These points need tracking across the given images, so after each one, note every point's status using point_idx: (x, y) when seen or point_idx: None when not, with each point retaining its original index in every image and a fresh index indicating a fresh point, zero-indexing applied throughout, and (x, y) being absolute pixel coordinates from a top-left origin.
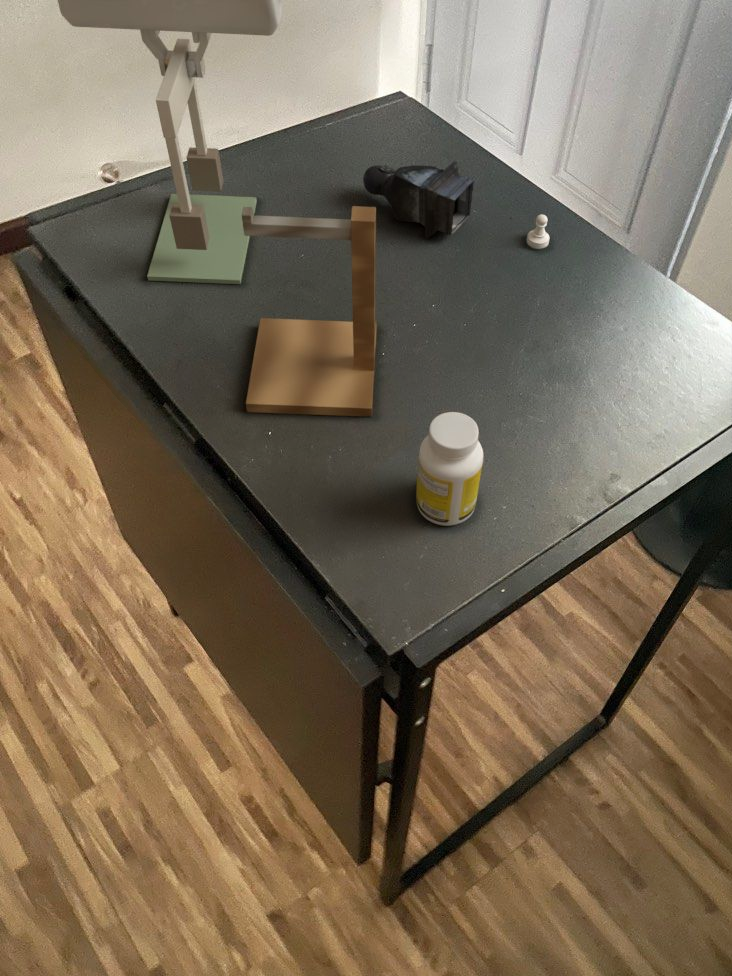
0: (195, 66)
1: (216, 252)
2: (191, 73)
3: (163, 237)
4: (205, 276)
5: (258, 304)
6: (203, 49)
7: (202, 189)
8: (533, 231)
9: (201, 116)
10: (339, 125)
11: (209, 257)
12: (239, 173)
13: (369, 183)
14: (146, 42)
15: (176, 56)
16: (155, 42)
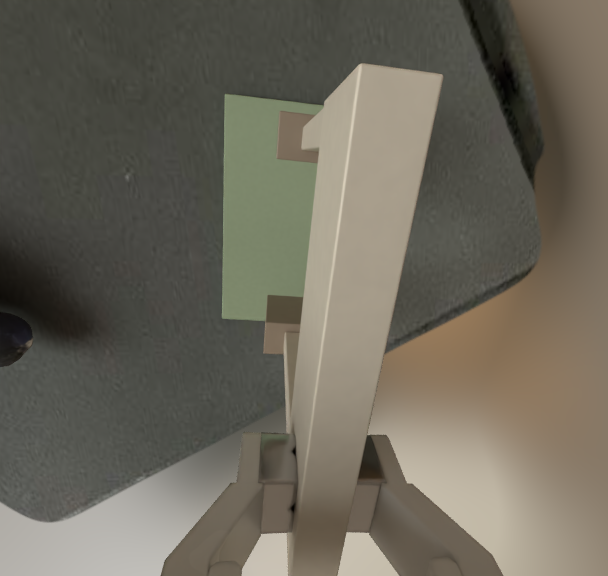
0: (260, 462)
1: (273, 177)
2: (281, 441)
3: None
4: (287, 108)
5: (186, 30)
6: (202, 530)
7: (298, 298)
8: None
9: (285, 389)
10: (125, 477)
11: (284, 163)
12: (256, 377)
13: (5, 323)
14: (471, 547)
15: (332, 490)
16: (425, 554)
